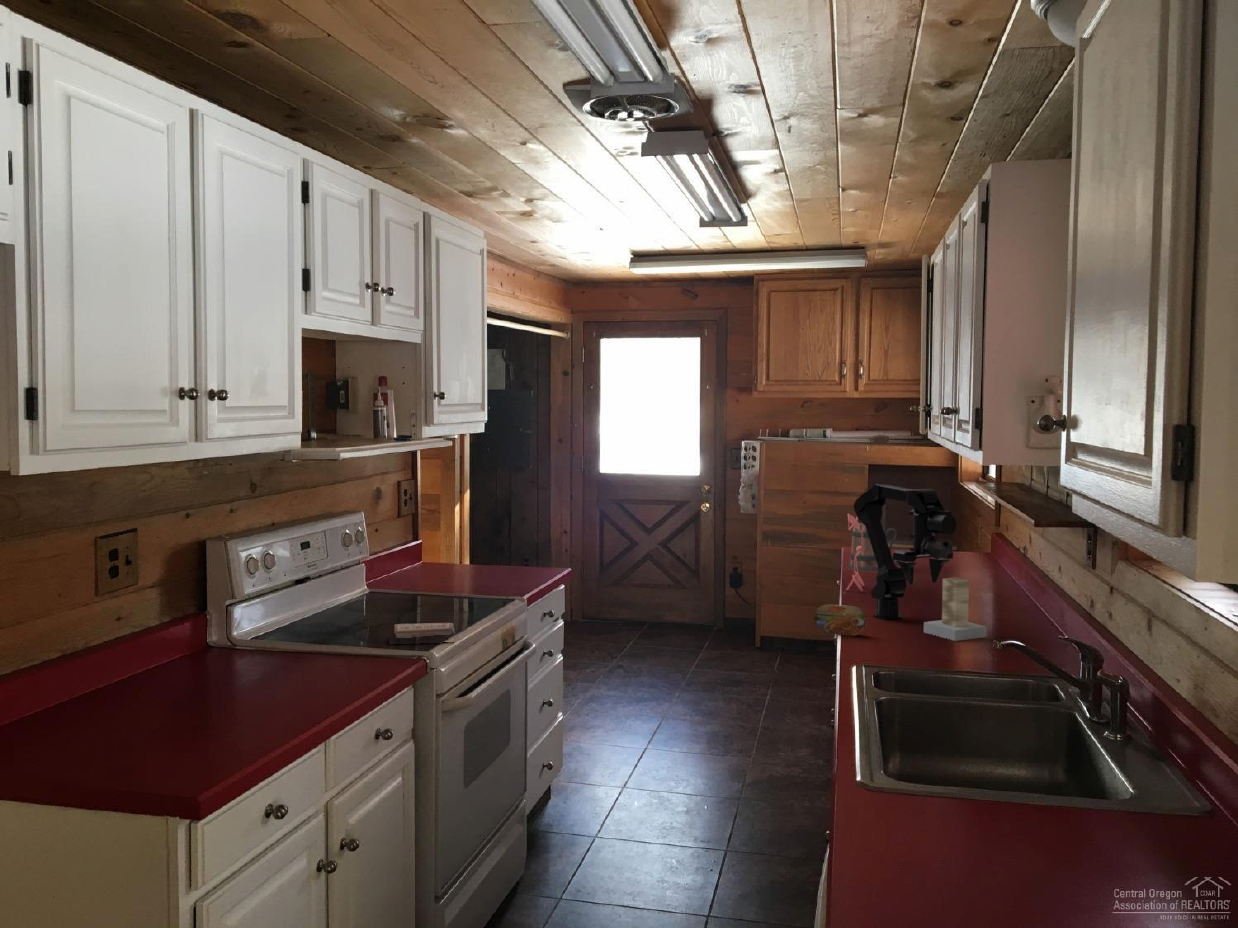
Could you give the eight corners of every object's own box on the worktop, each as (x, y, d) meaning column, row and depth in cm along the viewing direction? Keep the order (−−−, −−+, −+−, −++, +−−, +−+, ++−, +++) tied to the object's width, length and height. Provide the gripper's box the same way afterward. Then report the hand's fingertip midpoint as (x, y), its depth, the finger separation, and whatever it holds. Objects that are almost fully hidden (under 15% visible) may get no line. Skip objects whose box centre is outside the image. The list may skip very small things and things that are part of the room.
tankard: (844, 572, 387) (845, 523, 386) (845, 566, 403) (846, 519, 402) (904, 574, 381) (905, 525, 380) (903, 568, 397) (904, 521, 396)
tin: (813, 632, 275) (813, 603, 274) (816, 630, 278) (816, 601, 277) (865, 637, 268) (865, 608, 268) (867, 635, 271) (868, 606, 270)
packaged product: (454, 619, 269) (454, 627, 259) (454, 636, 269) (454, 644, 260) (389, 621, 266) (387, 629, 256) (389, 638, 266) (387, 647, 256)
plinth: (923, 632, 275) (923, 622, 274) (954, 628, 280) (954, 618, 280) (954, 640, 264) (955, 630, 264) (986, 636, 269) (986, 626, 269)
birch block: (941, 623, 273) (942, 578, 272) (954, 621, 275) (955, 577, 275) (955, 626, 268) (956, 581, 268) (968, 625, 271) (968, 579, 270)
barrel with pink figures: (840, 594, 334) (844, 496, 333) (849, 583, 359) (852, 491, 357) (885, 598, 329) (889, 498, 328) (891, 587, 353) (895, 493, 352)
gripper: (919, 535, 270) (918, 589, 270) (967, 532, 278) (966, 585, 278) (891, 531, 280) (891, 584, 280) (939, 528, 288) (938, 579, 288)
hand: (922, 583), depth 282 cm, fingers open, 9 cm apart
